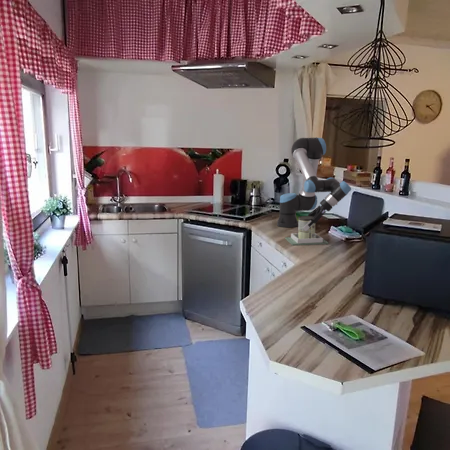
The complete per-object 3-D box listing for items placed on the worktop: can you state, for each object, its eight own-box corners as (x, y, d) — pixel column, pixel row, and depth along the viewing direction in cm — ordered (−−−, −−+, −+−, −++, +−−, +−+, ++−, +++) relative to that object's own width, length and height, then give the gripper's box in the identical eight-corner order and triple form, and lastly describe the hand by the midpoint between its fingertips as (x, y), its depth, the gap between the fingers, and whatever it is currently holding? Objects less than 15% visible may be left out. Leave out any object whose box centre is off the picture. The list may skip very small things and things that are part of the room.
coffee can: (299, 237, 257) (299, 215, 254) (315, 238, 253) (316, 216, 250) (296, 241, 247) (297, 218, 244) (313, 242, 244) (314, 219, 241)
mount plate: (285, 238, 257) (285, 233, 257) (318, 237, 260) (319, 232, 259) (292, 245, 241) (292, 239, 240) (328, 244, 243) (328, 238, 243)
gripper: (337, 210, 233) (310, 236, 237) (329, 204, 257) (304, 227, 261) (328, 201, 232) (301, 227, 236) (320, 195, 256) (296, 219, 260)
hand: (302, 227), depth 249 cm, fingers open, 13 cm apart
